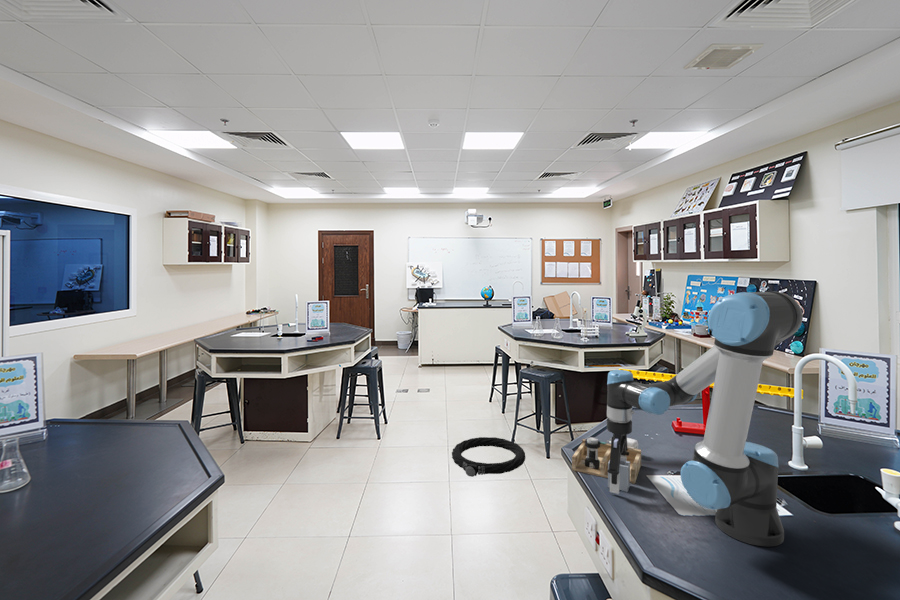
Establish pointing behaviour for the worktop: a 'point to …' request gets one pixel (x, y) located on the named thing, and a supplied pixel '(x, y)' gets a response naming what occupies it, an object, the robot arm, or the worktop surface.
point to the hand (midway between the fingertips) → (618, 483)
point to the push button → (592, 453)
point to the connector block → (622, 475)
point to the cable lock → (485, 468)
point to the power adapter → (630, 443)
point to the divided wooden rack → (605, 460)
